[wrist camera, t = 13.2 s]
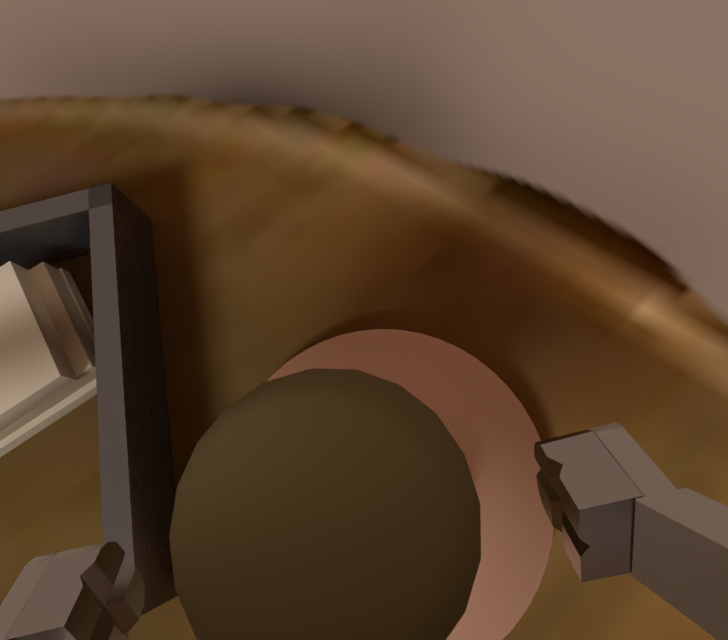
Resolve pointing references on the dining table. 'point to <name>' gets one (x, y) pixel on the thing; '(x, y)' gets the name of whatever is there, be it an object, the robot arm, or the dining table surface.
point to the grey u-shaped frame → (116, 363)
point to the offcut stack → (42, 350)
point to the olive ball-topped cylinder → (326, 516)
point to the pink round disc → (483, 454)
